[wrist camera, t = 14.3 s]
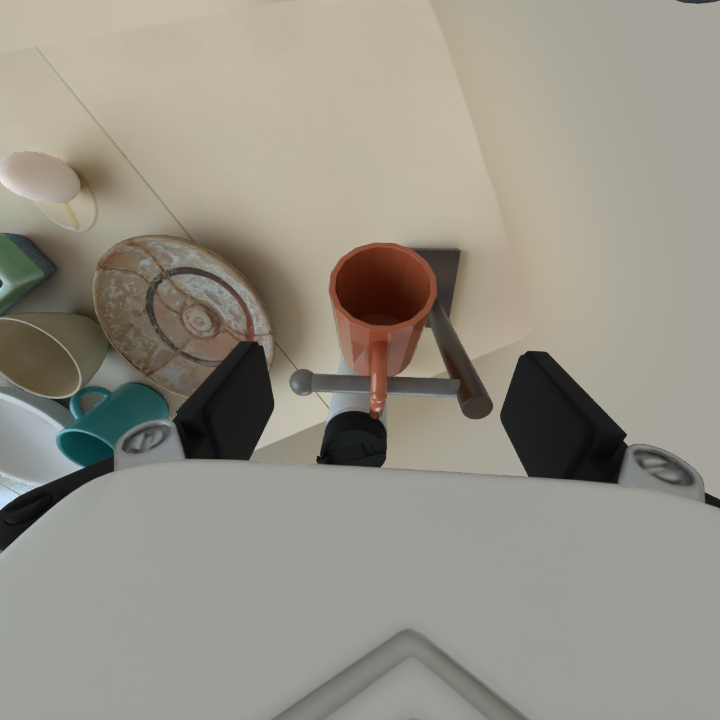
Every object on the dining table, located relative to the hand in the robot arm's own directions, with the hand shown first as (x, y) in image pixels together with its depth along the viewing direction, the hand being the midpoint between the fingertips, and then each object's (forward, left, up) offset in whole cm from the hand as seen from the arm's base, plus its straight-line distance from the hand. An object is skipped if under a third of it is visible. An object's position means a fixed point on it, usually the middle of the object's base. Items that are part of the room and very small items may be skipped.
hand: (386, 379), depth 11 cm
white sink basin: (+31, -60, -29) cm, 74 cm away
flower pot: (+13, -44, -29) cm, 55 cm away
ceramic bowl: (+10, -25, -29) cm, 40 cm away
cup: (+25, -41, -29) cm, 56 cm away
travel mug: (+15, -2, -29) cm, 33 cm away
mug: (+7, 0, -13) cm, 15 cm away
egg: (-7, -36, -29) cm, 47 cm away
